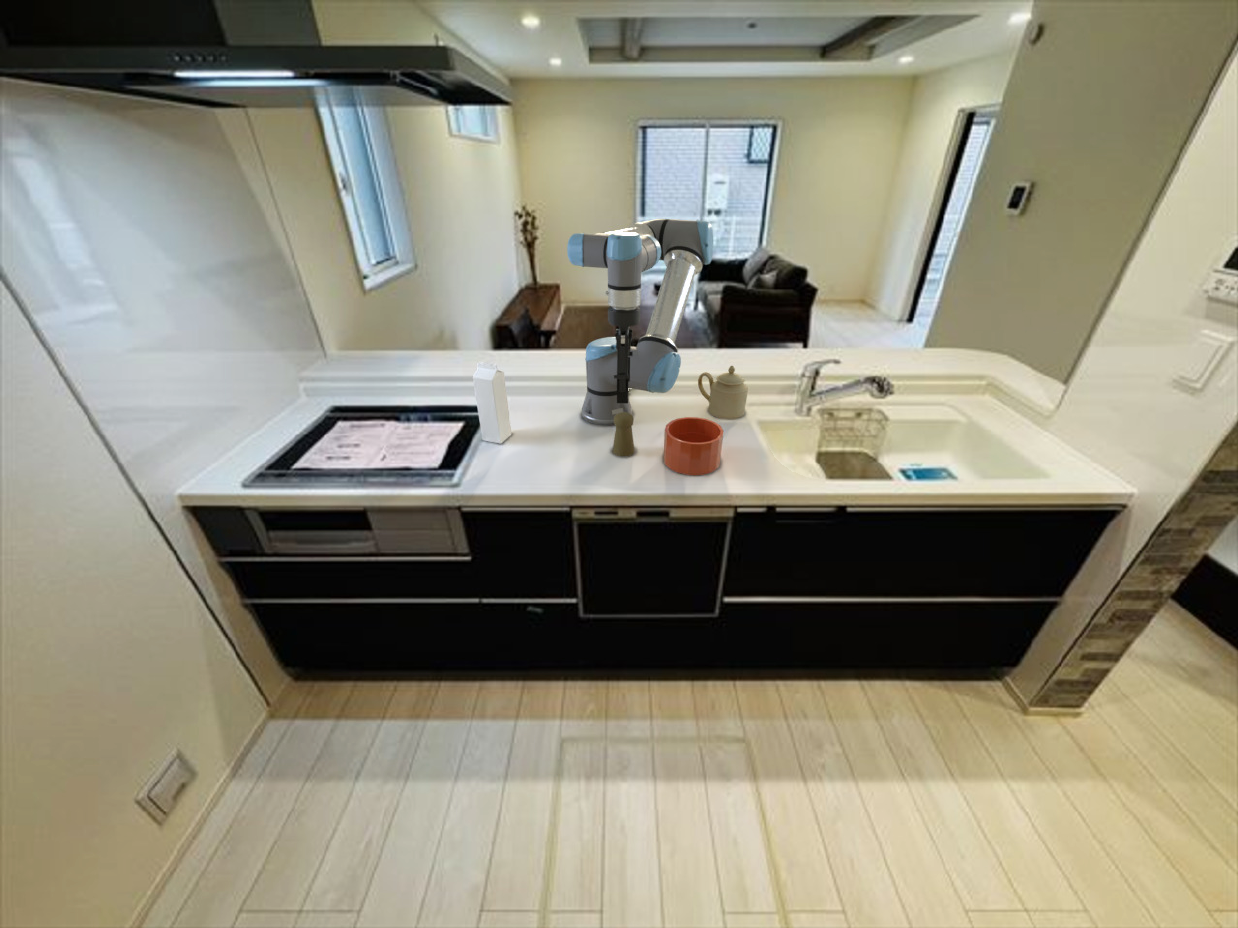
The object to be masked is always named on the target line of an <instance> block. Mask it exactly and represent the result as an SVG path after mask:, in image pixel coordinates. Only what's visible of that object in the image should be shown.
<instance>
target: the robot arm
mask: <svg viewBox="0 0 1238 928" xmlns="http://www.w3.org/2000/svg"><path fill="white" fill-rule="evenodd" d="M566 252H567V258H568V260H569V262H570V264H572V265H573V266H577V267H582V268H584V267H586V268H597V269H598V268H599V269H607V290H605V293H604V295H605V296H608V297H607V304H608V306H609V307H608V308H607V322H608V324H609V325H611V326H614V327H618V328H616V329H615V336H607V337H602V338H598V339H595V340H593V341H591V342H589V343H588V344H587V345H586V348H585V367H586V368H585V373H586V374H585V375H586V394H585V397H584V400H583V404H582V407H581V416H582V418H583V419H584V420H585V421H586V422H588V423H590V424H594V425H598V426H615V424H614V417H615V415H616V414H618V413H620V412H627V413H630V414H631V415H632V416H633V407H632V404H631V402H630V399H629V393H630V391H628V388H632V389H631V390H639V391H643V392H644V391H645V392H649V393H657V394H665V393H667V392H669V391H671V389H672V388H673V387H674V385H675V383H676V381H677V379H678V377H679V373H680V368H681V364H682V357H681V355H680V354H679V353H678V352H679V349H678V347H677V345H676V341H677V337H678V333H679V330H680V326H681V323H682V320H683V316H684V313H685V309H686V306H687V303H688V299H689V296H690V293H691V289H692V285H693V282H694V279H695V276H696V275H699V273H701V272H702V269H703V266H704V265H706V266H707V265H710V264H711V262H712V259H713V252H714V231H713V227H712V224H711V223H710V222H709V221H706V220H699V219H696V220H693V219H692V220H691V219H690V220H689V219H675V218H674V219H673V218H655V219H650V220H645V221H641V222H636V223H633V224H631V225H629V226H628V228H622V229H621V228H620V229H616V230H609V231H602V232H595V233H585V232H581V233H579V232H578V233H572V234H571V235H570V237H569V238H568V241H567V247H566ZM659 261H663V264H664V265H665V267H666V268H665V271H664V274H663V278H662V281H661V284H660V287H659V290H658V294H657V297H656V300H655V303H654V307H653V310H652V314H651V316H650V320H649V324H648V326H647V329H646V333H645V335H643V336H641V337H639V339H638V340H637V344H636V346H632V341H633V329H631V327H634V326H638V325H639V324H640V322H641V307H640V306H641V303H642V273H643V272H645V271H649V270H651V269H653V268H654V267H655V266H656V265H657V264H658V262H659Z"/></svg>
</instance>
